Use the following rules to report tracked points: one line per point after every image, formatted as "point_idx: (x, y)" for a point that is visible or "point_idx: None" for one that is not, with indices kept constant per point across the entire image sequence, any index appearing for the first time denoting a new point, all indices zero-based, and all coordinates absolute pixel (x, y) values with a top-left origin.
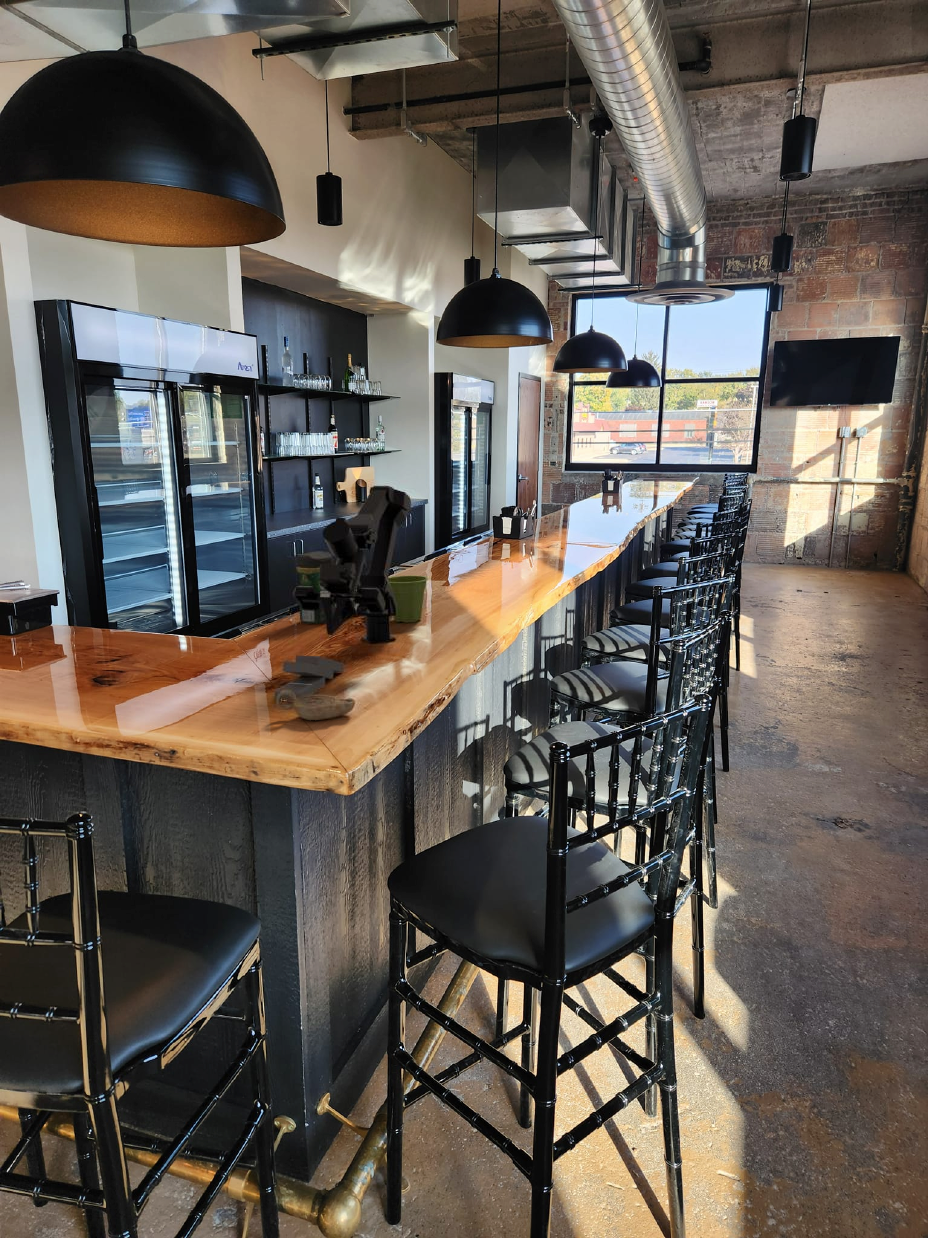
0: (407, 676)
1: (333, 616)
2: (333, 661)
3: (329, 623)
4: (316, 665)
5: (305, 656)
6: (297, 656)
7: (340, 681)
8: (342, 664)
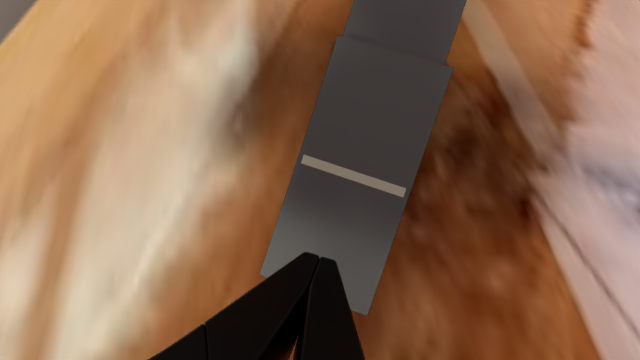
0: (36, 199)
1: (256, 349)
2: (294, 172)
3: (313, 301)
4: (344, 30)
5: (404, 55)
6: (444, 67)
7: (275, 159)
8: (266, 257)
